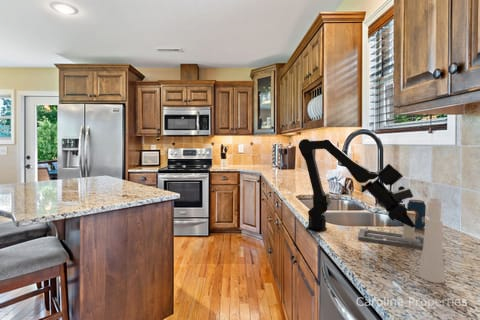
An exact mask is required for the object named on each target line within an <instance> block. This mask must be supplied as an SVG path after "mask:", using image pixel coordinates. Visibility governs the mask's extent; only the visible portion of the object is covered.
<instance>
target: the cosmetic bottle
mask: <svg viewBox="0 0 480 320" xmlns="http://www.w3.org/2000/svg"><path fill="white" fill-rule="evenodd" d="M427 205H428V206H427V218H426V217H425V227H424V233H423V234H424V235H423V237H424V242H423V249H422V252H421V262H420V265H419V270H418V274H417V275H418V277H419V278H421V279H422V280H424V281H426V282H430V283H434V284H443V283H445V282H446V277H445V269H444V254H443V253H444V251H443V250H444V248H443V247H444V246H443V243H444V242H443V237H444V236H443V220H442V219H441V216H442V215H441V211H442V210H441V209H442V202H441V199H440V198H439V197H434V196H433V197H431V196H430V197H429V201H428V204H427Z"/></svg>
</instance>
